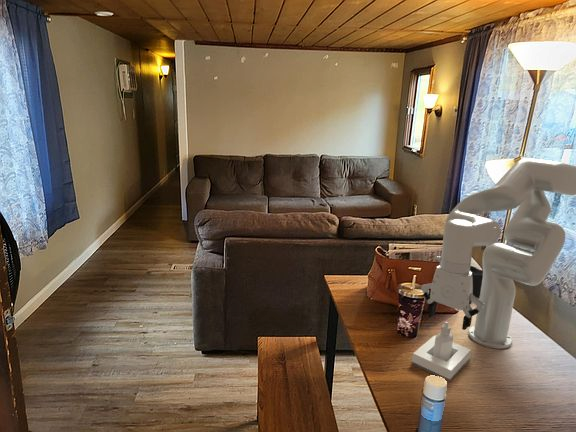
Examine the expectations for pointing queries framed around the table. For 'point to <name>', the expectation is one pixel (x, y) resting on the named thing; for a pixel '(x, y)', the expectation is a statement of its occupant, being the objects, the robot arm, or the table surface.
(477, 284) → the pen holder
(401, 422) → the table surface
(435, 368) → the bottle holder
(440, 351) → the eye dropper bottle
